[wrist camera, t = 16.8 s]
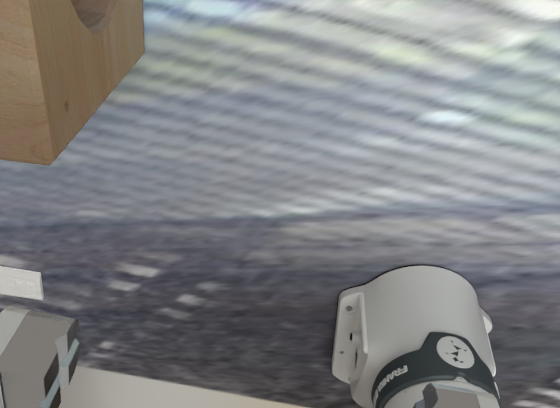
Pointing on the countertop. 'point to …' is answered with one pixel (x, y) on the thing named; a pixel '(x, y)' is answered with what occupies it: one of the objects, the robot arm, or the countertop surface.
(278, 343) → the countertop surface
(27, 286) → the white plastic strip tool
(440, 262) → the countertop surface
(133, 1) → the decorative block
